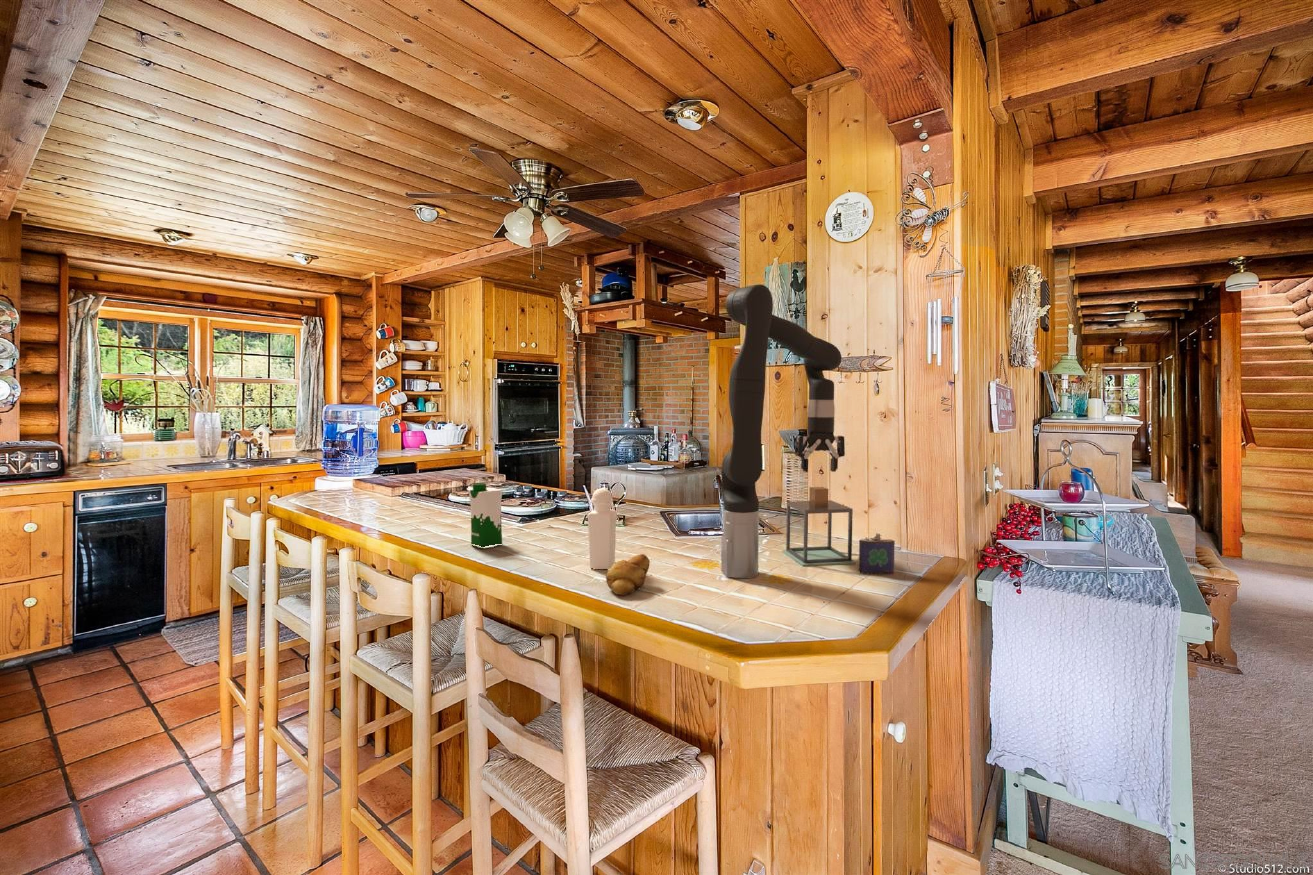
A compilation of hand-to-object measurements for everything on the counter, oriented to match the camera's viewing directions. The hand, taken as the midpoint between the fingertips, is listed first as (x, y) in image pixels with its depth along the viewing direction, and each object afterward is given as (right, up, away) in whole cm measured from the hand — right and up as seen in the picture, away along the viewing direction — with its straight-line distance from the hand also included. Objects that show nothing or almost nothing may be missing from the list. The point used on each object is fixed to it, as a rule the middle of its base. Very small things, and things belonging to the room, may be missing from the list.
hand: (819, 471), depth 171 cm
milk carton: (-101, -25, +16) cm, 106 cm away
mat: (0, -25, +1) cm, 25 cm away
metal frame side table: (0, -25, +1) cm, 25 cm away
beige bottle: (-62, -26, -8) cm, 68 cm away
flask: (+11, -27, -14) cm, 32 cm away
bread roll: (-55, -28, -27) cm, 67 cm away
